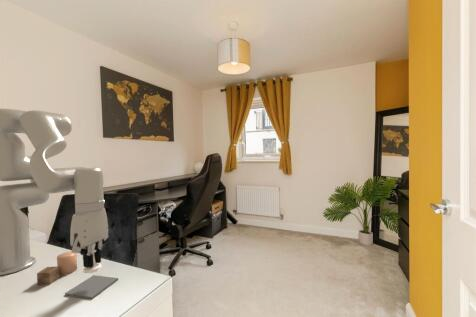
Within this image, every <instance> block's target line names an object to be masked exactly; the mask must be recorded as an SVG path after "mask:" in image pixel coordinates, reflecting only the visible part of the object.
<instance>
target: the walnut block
mask: <svg viewBox="0 0 476 317" xmlns="http://www.w3.org/2000/svg"><path fill="white" fill-rule="evenodd" d="M59 278H60V275H59V267H57V266H46V267H45V268H43V269H42V270H40V271H38V272H37V273H36V280H37V286H47V285H49V286H50V285H52V284H53V283H54V282H56V281H57V280H58V279H59Z"/></svg>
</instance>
